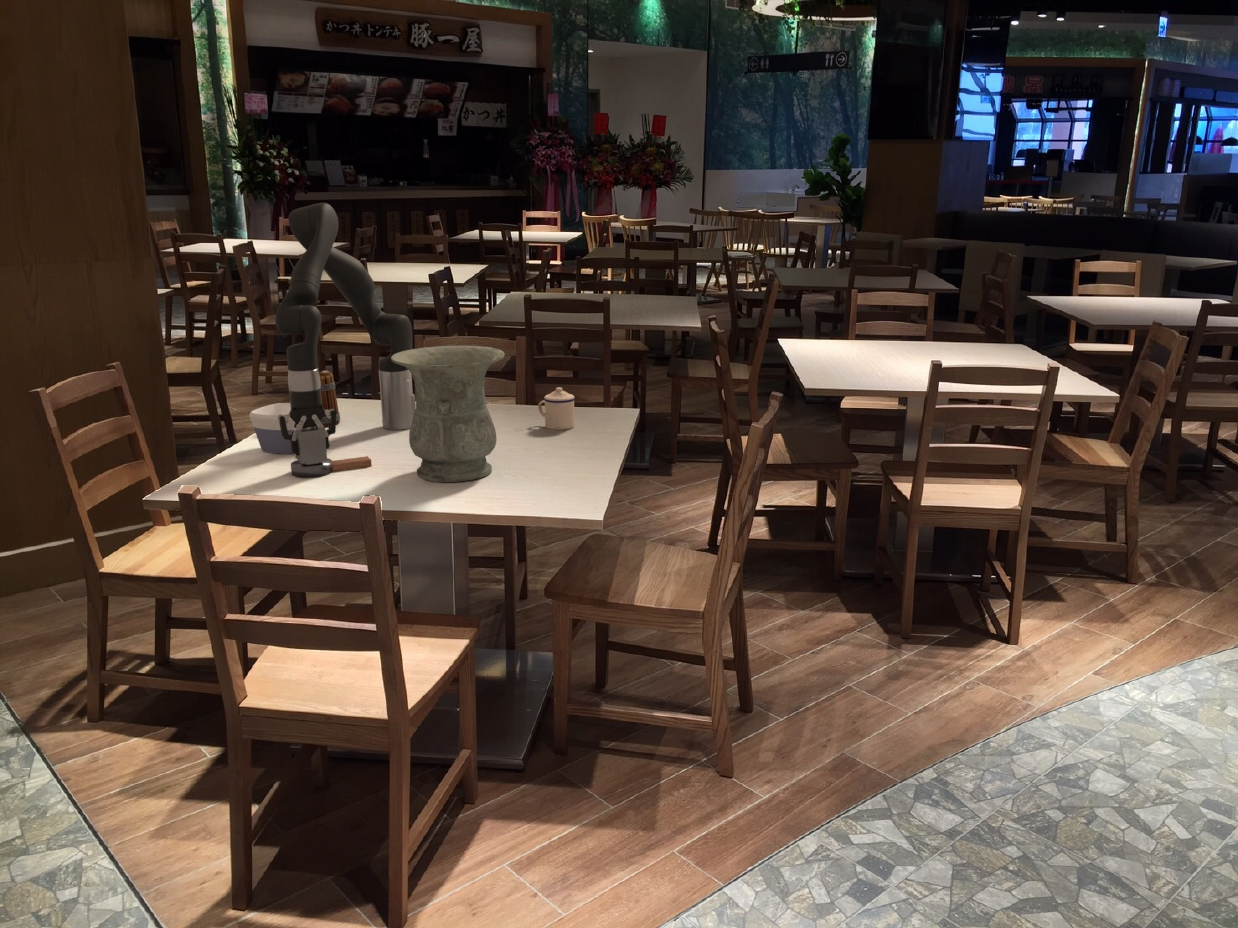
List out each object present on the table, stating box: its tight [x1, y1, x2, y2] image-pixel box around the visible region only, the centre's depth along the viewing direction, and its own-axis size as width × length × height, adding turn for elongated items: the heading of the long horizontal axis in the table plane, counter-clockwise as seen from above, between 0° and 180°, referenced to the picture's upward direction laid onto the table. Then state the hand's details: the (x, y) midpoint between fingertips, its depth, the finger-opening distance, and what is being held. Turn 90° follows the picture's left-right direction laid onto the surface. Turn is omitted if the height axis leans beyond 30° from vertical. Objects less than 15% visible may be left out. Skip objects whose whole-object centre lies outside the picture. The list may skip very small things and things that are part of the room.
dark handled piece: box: [290, 455, 372, 479], centre depth 258 cm, size 20×10×8 cm, turn 118°
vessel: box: [391, 345, 505, 483], centre depth 252 cm, size 27×27×30 cm
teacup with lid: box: [537, 387, 576, 431], centre depth 302 cm, size 12×9×12 cm
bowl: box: [249, 402, 297, 455], centre depth 278 cm, size 15×15×11 cm
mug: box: [319, 370, 341, 428], centre depth 308 cm, size 16×11×15 cm
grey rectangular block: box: [295, 426, 328, 464], centre depth 255 cm, size 6×6×8 cm
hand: (310, 452), depth 256 cm, fingers closed on grey rectangular block, 6 cm apart
